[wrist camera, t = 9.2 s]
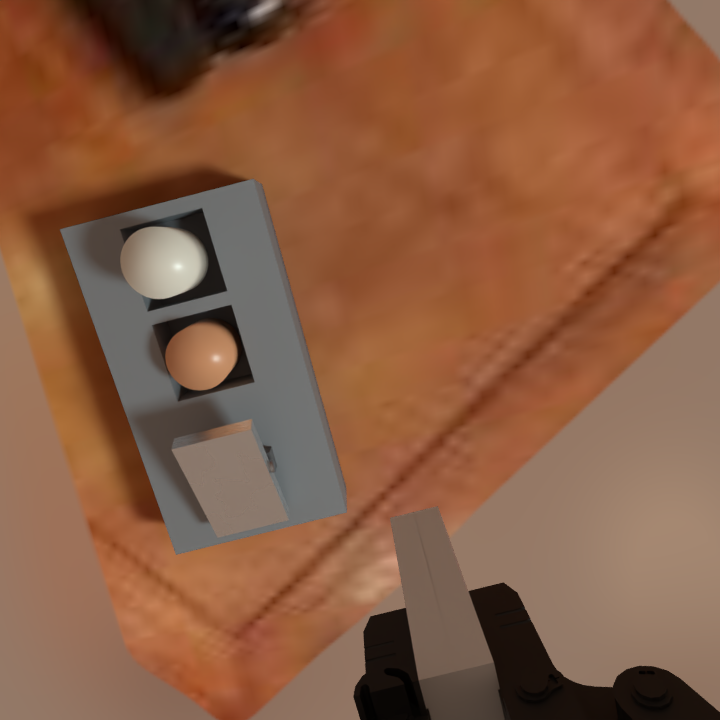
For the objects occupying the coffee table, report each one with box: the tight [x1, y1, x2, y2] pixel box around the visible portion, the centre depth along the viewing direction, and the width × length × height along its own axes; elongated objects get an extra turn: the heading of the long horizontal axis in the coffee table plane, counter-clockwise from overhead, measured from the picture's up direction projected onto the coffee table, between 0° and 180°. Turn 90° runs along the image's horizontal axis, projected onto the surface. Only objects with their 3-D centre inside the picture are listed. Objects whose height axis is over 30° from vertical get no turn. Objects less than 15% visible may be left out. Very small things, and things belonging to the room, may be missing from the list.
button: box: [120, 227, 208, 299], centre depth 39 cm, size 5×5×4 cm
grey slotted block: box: [60, 179, 347, 555], centre depth 44 cm, size 26×14×6 cm, turn 14°
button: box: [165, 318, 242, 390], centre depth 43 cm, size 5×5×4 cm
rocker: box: [171, 419, 289, 538], centre depth 42 cm, size 9×6×2 cm, turn 14°
